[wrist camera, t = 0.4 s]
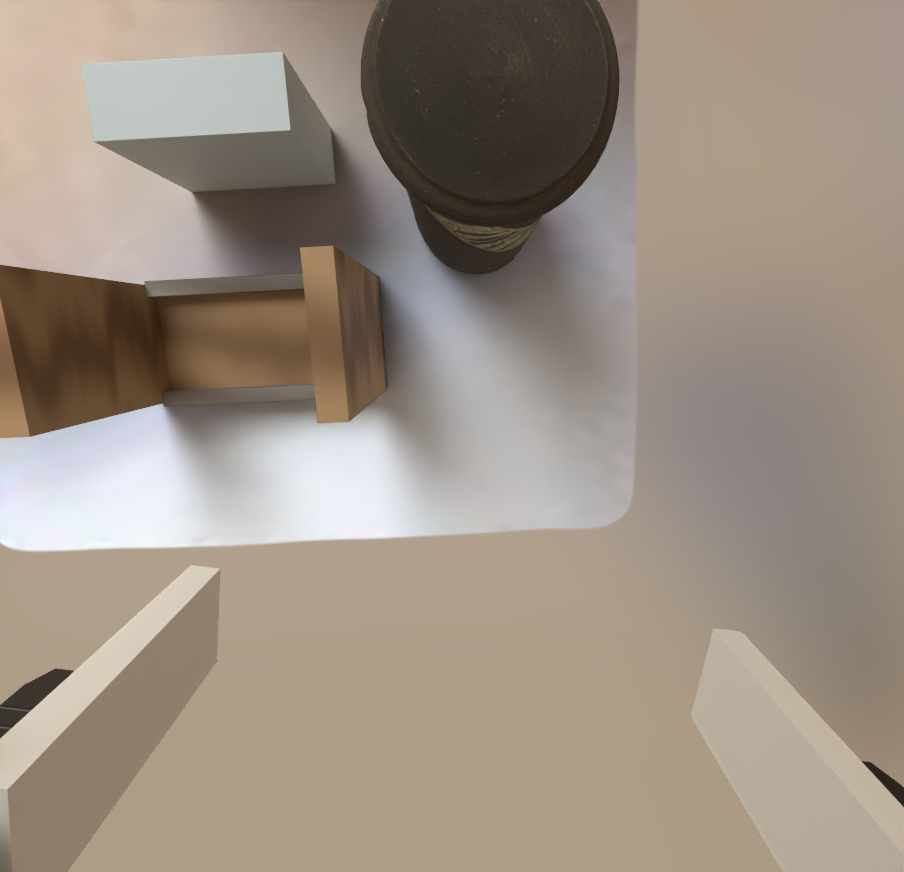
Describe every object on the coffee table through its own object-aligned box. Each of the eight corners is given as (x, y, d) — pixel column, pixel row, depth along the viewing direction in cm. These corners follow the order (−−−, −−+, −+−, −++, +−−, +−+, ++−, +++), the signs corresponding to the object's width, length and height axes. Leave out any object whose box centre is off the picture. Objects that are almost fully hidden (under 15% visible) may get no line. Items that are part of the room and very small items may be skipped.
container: (452, 300, 37) (447, 269, 18) (385, 184, 36) (300, 10, 16) (559, 235, 36) (678, 126, 17) (495, 113, 35) (544, -162, 15)
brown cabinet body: (141, 285, 37) (-41, 259, 24) (378, 272, 37) (332, 239, 23) (160, 403, 39) (0, 443, 25) (387, 392, 39) (349, 426, 25)
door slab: (183, 127, 35) (78, 51, 26) (330, 119, 35) (281, 38, 25) (192, 192, 36) (93, 141, 26) (335, 184, 36) (290, 130, 26)
